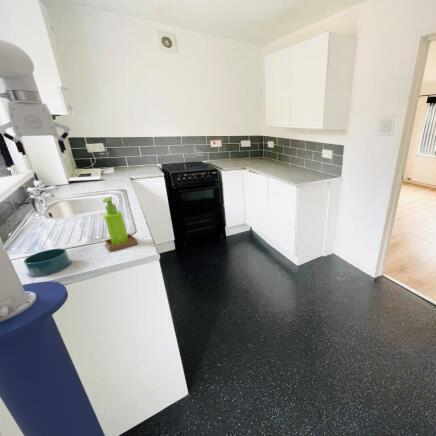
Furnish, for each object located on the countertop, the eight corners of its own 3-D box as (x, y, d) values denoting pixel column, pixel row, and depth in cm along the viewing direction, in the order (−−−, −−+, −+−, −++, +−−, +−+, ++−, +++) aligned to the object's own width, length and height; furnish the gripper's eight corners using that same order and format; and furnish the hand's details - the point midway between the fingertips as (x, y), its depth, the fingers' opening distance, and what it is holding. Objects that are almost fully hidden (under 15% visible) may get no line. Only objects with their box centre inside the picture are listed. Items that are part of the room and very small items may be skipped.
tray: (137, 244, 104) (136, 240, 103) (110, 251, 97) (109, 247, 97) (131, 237, 110) (130, 233, 109) (106, 244, 104) (104, 240, 103)
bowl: (71, 267, 86) (67, 255, 84) (29, 280, 79) (23, 267, 77) (69, 257, 93) (64, 245, 92) (29, 268, 86) (24, 255, 85)
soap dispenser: (110, 248, 99) (96, 201, 92) (114, 241, 105) (101, 196, 98) (127, 245, 101) (114, 199, 94) (130, 239, 107) (118, 195, 100)
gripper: (-19, 95, 70) (6, 156, 75) (61, 99, 81) (78, 152, 87) (-15, 97, 75) (8, 155, 81) (60, 101, 86) (75, 151, 92)
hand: (44, 153), depth 84 cm, fingers open, 9 cm apart
